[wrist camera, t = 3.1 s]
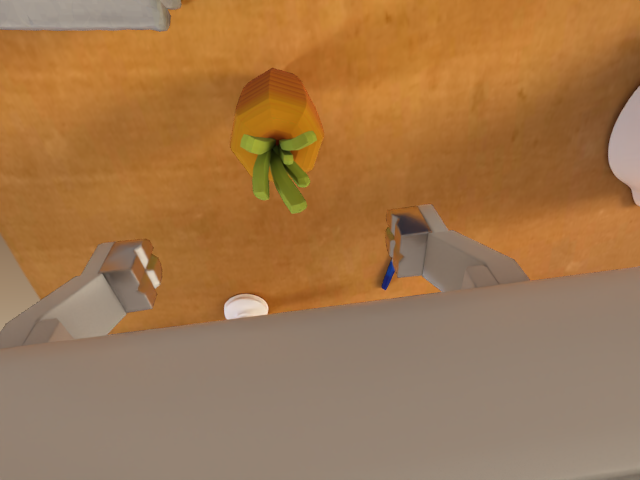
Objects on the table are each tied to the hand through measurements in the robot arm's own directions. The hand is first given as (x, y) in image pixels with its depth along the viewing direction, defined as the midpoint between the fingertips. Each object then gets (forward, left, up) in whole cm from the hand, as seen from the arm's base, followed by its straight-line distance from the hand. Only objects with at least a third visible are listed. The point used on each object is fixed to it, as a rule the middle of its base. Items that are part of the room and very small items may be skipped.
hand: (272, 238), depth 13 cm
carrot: (0, 0, -19) cm, 19 cm away
